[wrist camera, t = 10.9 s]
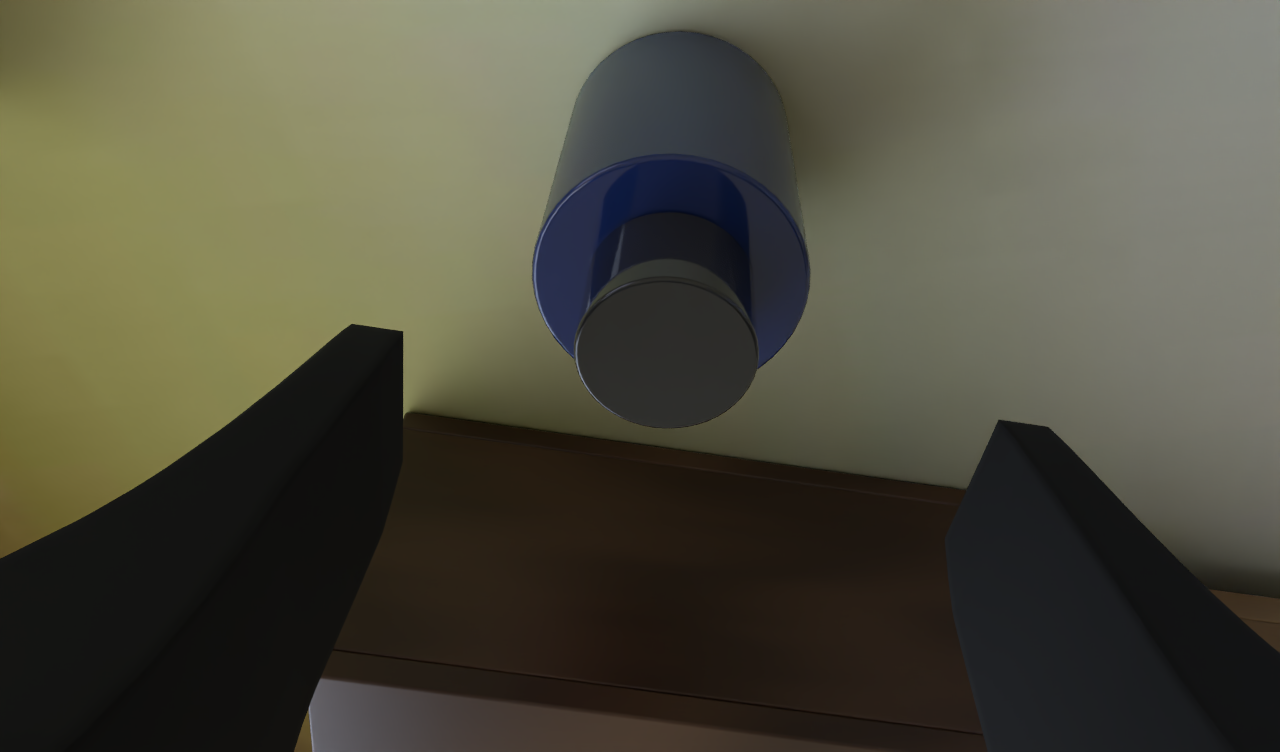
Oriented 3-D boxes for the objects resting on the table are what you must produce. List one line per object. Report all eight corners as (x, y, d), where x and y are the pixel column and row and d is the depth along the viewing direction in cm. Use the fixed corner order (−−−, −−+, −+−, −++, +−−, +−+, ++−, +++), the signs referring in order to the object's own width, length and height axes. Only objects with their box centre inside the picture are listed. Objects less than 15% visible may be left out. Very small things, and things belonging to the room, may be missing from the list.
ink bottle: (762, 249, 20) (784, 492, 14) (561, 218, 20) (502, 453, 14) (810, 48, 18) (858, 246, 12) (581, 13, 17) (521, 196, 12)
